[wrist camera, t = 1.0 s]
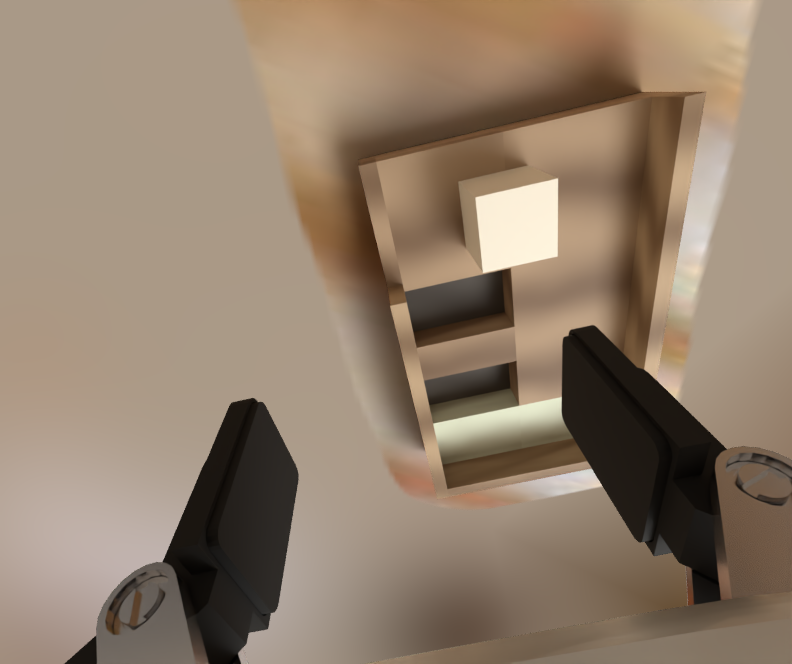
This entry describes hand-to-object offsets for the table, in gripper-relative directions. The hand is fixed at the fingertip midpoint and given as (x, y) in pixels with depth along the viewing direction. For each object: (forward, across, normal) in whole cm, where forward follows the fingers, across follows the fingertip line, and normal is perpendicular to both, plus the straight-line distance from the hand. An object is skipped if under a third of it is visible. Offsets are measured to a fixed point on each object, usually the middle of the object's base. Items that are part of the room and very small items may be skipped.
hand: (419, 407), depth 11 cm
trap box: (+18, -8, +9) cm, 21 cm away
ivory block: (+15, -7, 0) cm, 17 cm away
